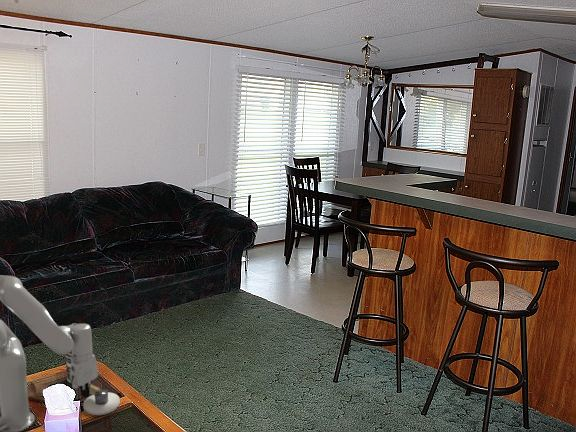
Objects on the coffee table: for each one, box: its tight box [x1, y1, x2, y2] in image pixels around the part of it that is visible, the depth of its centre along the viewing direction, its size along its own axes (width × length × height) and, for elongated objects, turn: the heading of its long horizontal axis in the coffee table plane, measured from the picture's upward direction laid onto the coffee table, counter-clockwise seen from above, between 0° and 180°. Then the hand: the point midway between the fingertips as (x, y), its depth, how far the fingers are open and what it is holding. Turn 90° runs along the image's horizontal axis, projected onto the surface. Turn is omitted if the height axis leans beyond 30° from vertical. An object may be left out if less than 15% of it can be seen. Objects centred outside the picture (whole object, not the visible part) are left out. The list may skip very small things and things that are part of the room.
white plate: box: [83, 391, 121, 416], centre depth 222 cm, size 14×14×2 cm
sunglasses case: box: [27, 381, 51, 403], centre depth 227 cm, size 18×7×7 cm, turn 76°
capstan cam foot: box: [89, 383, 109, 405], centre depth 223 cm, size 10×5×5 cm, turn 58°
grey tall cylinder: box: [65, 322, 78, 384], centre depth 238 cm, size 9×9×25 cm
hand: (85, 396), depth 221 cm, fingers closed
